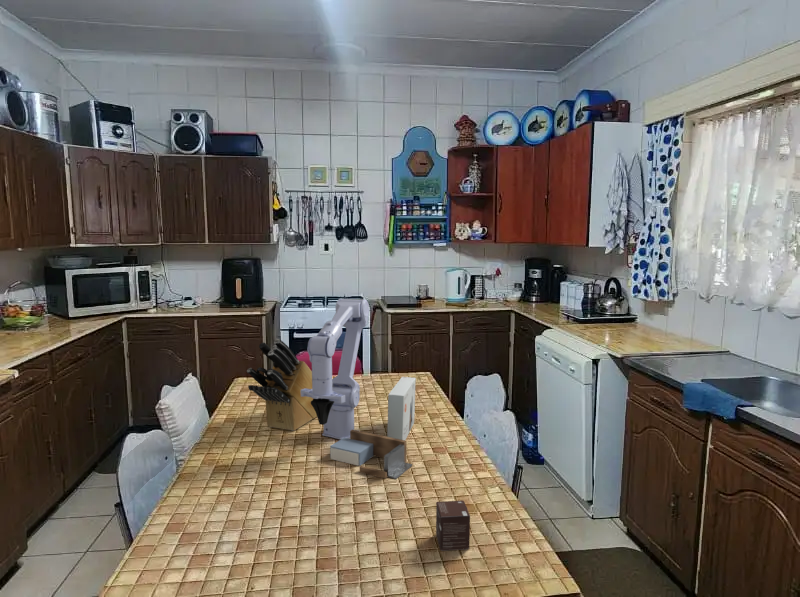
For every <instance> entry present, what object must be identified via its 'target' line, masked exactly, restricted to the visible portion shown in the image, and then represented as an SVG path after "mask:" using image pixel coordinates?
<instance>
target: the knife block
mask: <svg viewBox="0 0 800 597" xmlns="http://www.w3.org/2000/svg"><path fill="white" fill-rule="evenodd" d="M273 344H274V345H273V346H271V347H270V346H269V344H267V343H265V342H261V343H260V344H259V345H258V348H259V349H260V350H261V352H262V353H263V354H264V355H265V356H266V357H267V358H268V360H271V361H272V363H273V366H272V368H268V369H266V368H264V367H261V366H260V367H257V369H256V370H255V369H254V368H252V367H250V368H247V370H246V372H247V374H248V375H250V377H252V379H253V380H254V381H255V382H257V383H258V384H259V385H253V384H252V385H251V384H250V385H247V387H248V388H247V389H248V390H249V391H250V392H251V391H252V392H253V393H254V394H255V395H256V396H258V397H260V398H261V399H262V400H264V401H265V412H266V414H265V415H266V416H265V417H266V426H267V427H270V428H276V429H283V430H289V431H294V432H295V431H296V430H297V429H299V428H301V427H302V426H304V425H305V424H308V423H309V422H311V421H312V420H313V419H316V418H318V417H317V414H316V412H315V410H314V408H313V406H312V405H311V401H312V400H313V398H312V397H307V396H304V397H302V396H301V390H302V389H304V388H306V389H312V369H310V367H309V366H308V364H307V363H306V362H305V361H303V360H299V359H298V358H297V356H296V355H295V353H294V352H293V350H292V349H291V348H290V347H289V346H288V345H287V344H286V343H285V342H284V341H283V340H281V339H279V338H277V339H275V340H274V341H273ZM261 372H262V373H261Z"/></svg>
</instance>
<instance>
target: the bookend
mask: <svg viewBox="0 0 800 597" xmlns="http://www.w3.org/2000/svg"><path fill="white" fill-rule="evenodd" d="M383 464H384V465H383V471H385V472H387V478H390V479H394V480H397V479H398V478H400V477H401V476H402V475H403V474H404V473H405V472H407V471H408V470H409V469H410V468H411V467H413V464H412V463H409V462H404V444H400V445H398V446H397V447H396V448H394V449H393V450H392V451H390V452H389V453H388V454H386V455H385V456H384V458H383Z"/></svg>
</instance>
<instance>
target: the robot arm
mask: <svg viewBox="0 0 800 597" xmlns="http://www.w3.org/2000/svg"><path fill="white" fill-rule="evenodd" d="M369 316H370V305H369V301H368V300H367V299H365V298H361V299H357V298H356V299H355V298H354V299H353V298H352V299H351V298H338V300H337V301H336V302H335V313H334V315H333V317H332V319H331V320H328V321H326V322H325V323H324V325H323V326H322V328H321V329H320V331H319V332H318V333H317V335H314V336H312V337H310V338H309V340H308V342H307V354H308V356H309V357H308V358H309V362H310V363H311V371H312V389H306V388H304V389H302V390H301V396H302V397H304V396H307V397H312V398H313V400H312V401H311V405H312V406H313V408H314V410H315V412H316V414H317V417H316V418H317V421H318V424H319V425H322V426H323V433H321V435H322V436H324V437H327V438H328V437H329V438H333V439H336V440H341V439H343V438H349V439H350V431H351V430H355V408H356V407H357V406H358V405H359V402H360V395H361V394H360V391H361V390H360V389H361V387H360V384H359V383H358V381H356V380H355V379H354V374H355V368H356V361H357V356H358V352H359V351H358V350H359V346H360V341H361V333H362V330H363V328H365V327H367V325H368V324H367V323H368V320H369ZM343 327H344V328H345V329H346V330H345V336H344V341H343V346H342V351H341V357H340V362H339V366H338V371H337V372H338V373H337V375H335V377H333V356H334V354H335V351H336V347H337V341H338V340H339V338H340V337H341V335H342V334H343ZM357 431H359V430H358V429H357Z"/></svg>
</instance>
